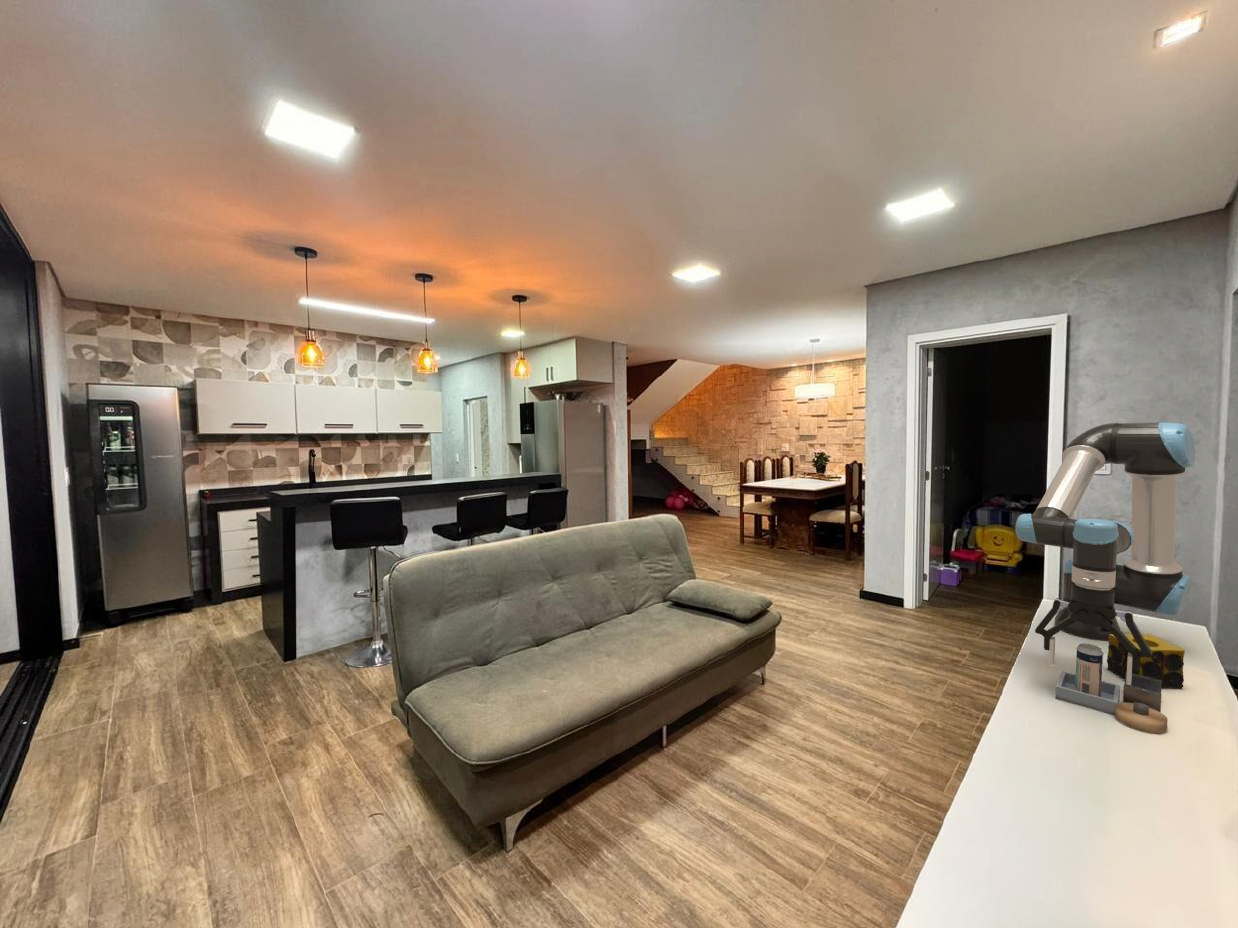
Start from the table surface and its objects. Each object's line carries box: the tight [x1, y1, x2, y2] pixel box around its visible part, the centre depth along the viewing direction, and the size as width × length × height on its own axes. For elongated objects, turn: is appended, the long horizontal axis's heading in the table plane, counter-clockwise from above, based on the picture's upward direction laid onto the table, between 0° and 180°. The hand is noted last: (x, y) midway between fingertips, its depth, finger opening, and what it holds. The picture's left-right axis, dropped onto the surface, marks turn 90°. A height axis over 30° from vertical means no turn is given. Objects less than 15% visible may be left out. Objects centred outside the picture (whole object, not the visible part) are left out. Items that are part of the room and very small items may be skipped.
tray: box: [1055, 670, 1121, 716], centre depth 123 cm, size 11×11×3 cm
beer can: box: [1075, 642, 1104, 697], centre depth 123 cm, size 5×5×12 cm
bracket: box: [1122, 672, 1162, 713], centre depth 120 cm, size 9×6×5 cm, turn 134°
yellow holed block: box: [1106, 633, 1186, 690], centre depth 131 cm, size 10×10×10 cm
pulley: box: [1114, 701, 1168, 735], centre depth 113 cm, size 8×8×4 cm
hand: (1088, 672), depth 123 cm, fingers open, 13 cm apart
